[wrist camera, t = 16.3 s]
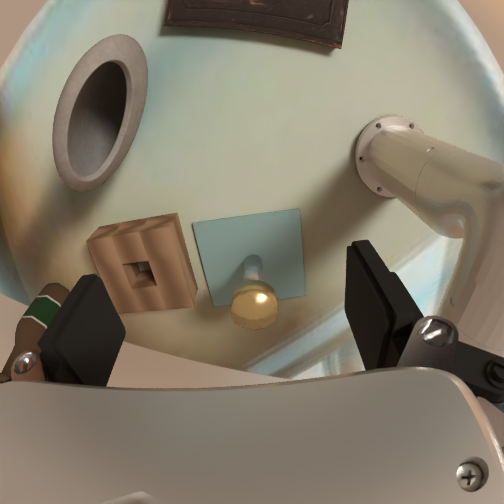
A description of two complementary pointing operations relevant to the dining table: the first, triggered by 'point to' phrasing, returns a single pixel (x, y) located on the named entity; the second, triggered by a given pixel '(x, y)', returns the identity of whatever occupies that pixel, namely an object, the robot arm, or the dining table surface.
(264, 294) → the pin
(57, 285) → the beer bottle
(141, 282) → the block
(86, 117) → the planter
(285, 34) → the hardcover book
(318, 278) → the dining table surface
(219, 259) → the mat
